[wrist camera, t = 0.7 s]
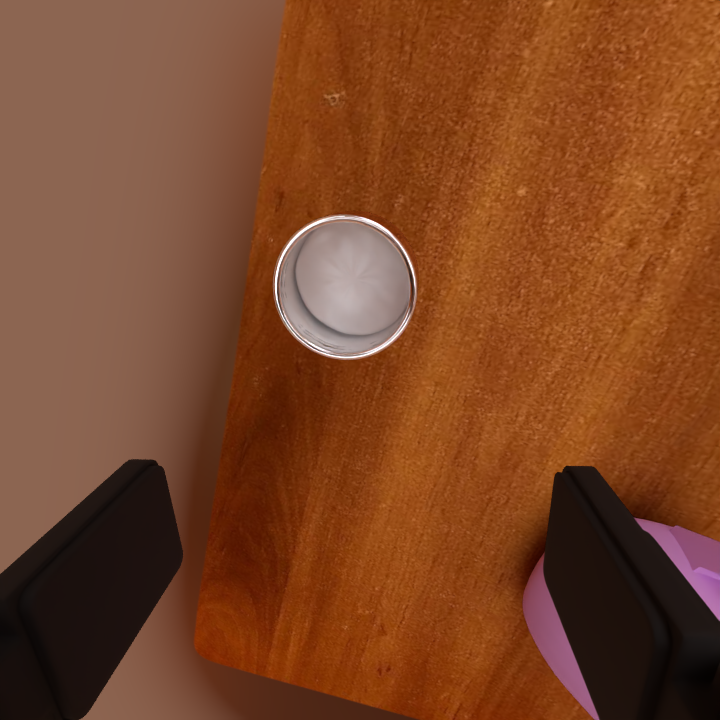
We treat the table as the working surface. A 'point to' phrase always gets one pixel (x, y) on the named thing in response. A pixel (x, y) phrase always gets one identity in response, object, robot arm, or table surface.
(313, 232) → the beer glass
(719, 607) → the teapot
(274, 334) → the table surface
